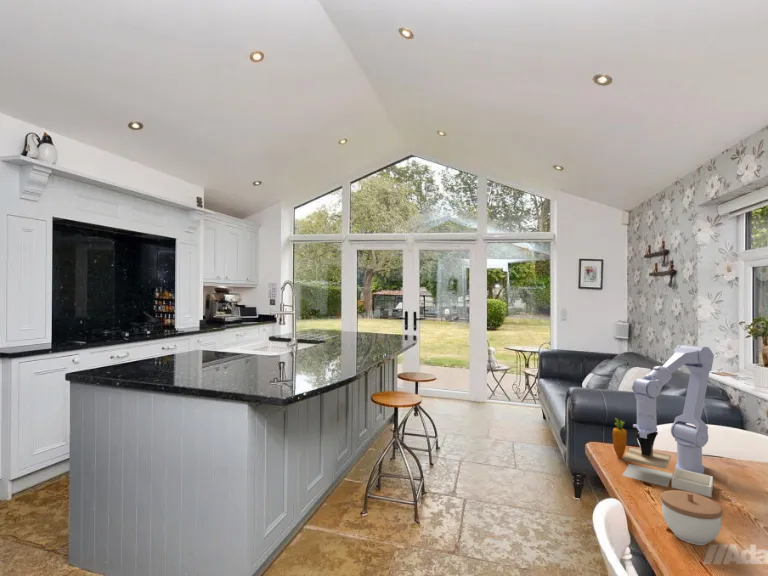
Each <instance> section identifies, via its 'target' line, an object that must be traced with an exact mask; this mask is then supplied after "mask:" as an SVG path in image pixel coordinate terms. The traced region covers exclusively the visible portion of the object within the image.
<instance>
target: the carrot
mask: <svg viewBox="0 0 768 576" xmlns="http://www.w3.org/2000/svg"><path fill="white" fill-rule="evenodd" d="M614 420H615V423H614V425H615V427H613V429H612V444H613V448H614V449H613V450H614V452H615V454H616V456H617V458H619V459H622V458H623V457H624V455H625V453H626V452H625V451H626V447H627V434H628V432H627V430H626V429H624V428H623V427H624V424H625V421H623V420H619V419H618V418H616V417H615V418H614Z"/></svg>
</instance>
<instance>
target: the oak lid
mask: <svg viewBox="0 0 768 576" xmlns="http://www.w3.org/2000/svg"><path fill="white" fill-rule="evenodd" d="M671 456H672V455H671V454H665V453H661V452H657V451H654V445H653V444H652V449H651V454H650V456H645V455H643V454H642V451H641V448H638V447H633V446H630V447H629V449H628V450H627V451H626V452H625V453H624V455H623V460H624V461H628V462H632V463H637V464H640V465H641V464H642V465H646V466H649V467H650V466H651V467H654V468H658V469H664V470H667V468H668V466H669V463H670V460H671V458H672V457H671Z"/></svg>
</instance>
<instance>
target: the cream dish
mask: <svg viewBox="0 0 768 576" xmlns="http://www.w3.org/2000/svg"><path fill="white" fill-rule="evenodd" d="M671 488H672V489H677V490H680V491H687V492H691V493H695V494H698V495H701V496H704V497H707V498H712V496H713V495H712V494H713V490H714V489H713V488H714V476H712V475H709V474H705V473H703V474H700V473H695V472H691V471H686V470H682V469H677V468H675V467H674V470H673V473H672V477H671Z"/></svg>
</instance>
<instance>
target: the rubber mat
mask: <svg viewBox="0 0 768 576" xmlns="http://www.w3.org/2000/svg"><path fill="white" fill-rule="evenodd" d="M672 475H673V473H671V472H666V471H662V470H658V469H654V468H649V467H644V466H640V465H635V464H631V463H628V465H627V467H626V468H625V470H624V471H623V473H622V475H621V476H623V477H625V478H629V479H630V478H631V479H635V480H637V481H641V482H642V481H643V482H646V483H651V484H654V485H659V486H661V487H665V488H668V487H669V485H670V482H671V481H672Z"/></svg>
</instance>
